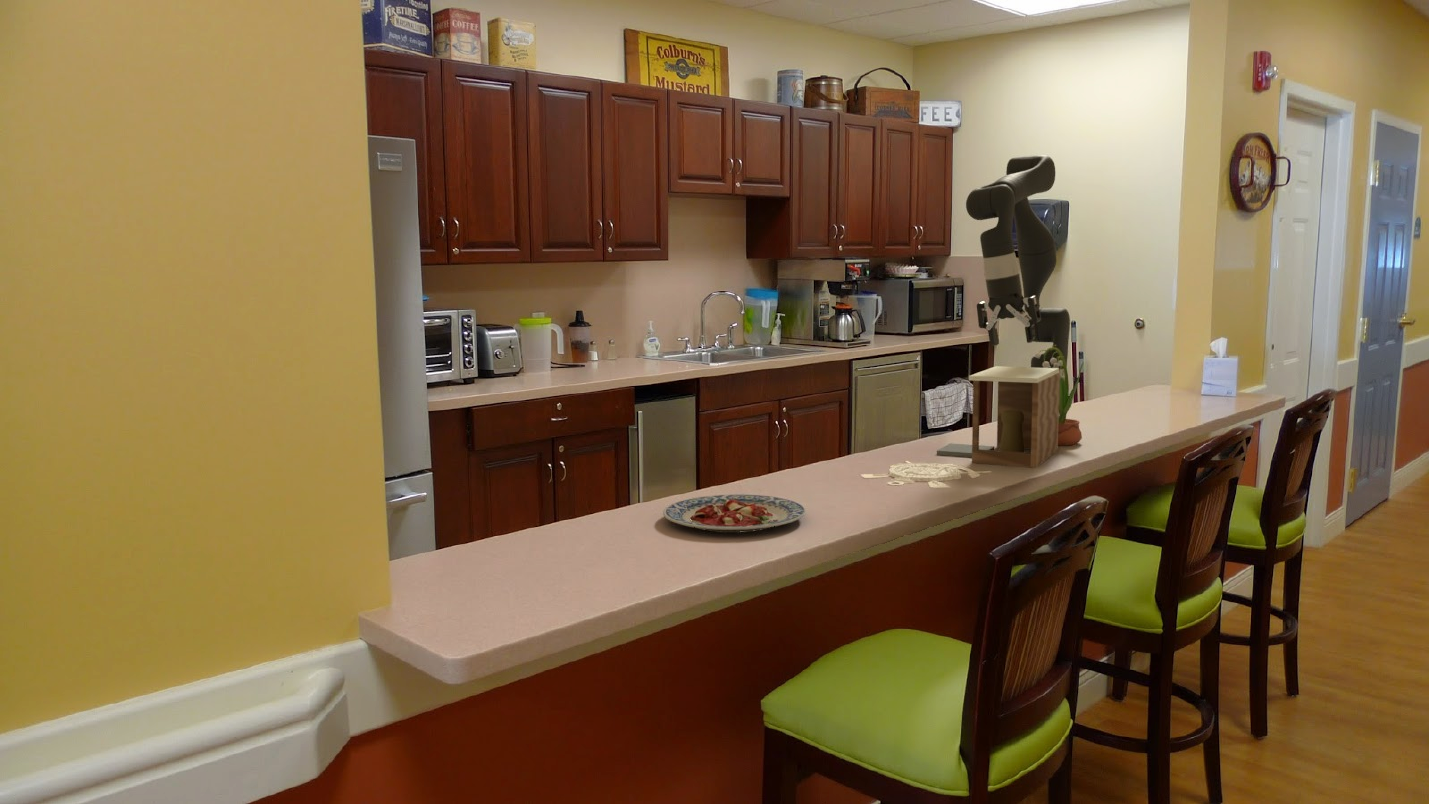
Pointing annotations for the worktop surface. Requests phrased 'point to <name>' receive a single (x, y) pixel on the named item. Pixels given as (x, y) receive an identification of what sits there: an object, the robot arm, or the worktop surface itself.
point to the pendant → (924, 473)
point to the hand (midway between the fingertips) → (1012, 343)
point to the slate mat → (960, 450)
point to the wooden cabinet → (1032, 397)
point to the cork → (1012, 431)
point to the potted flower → (1064, 401)
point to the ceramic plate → (734, 512)
